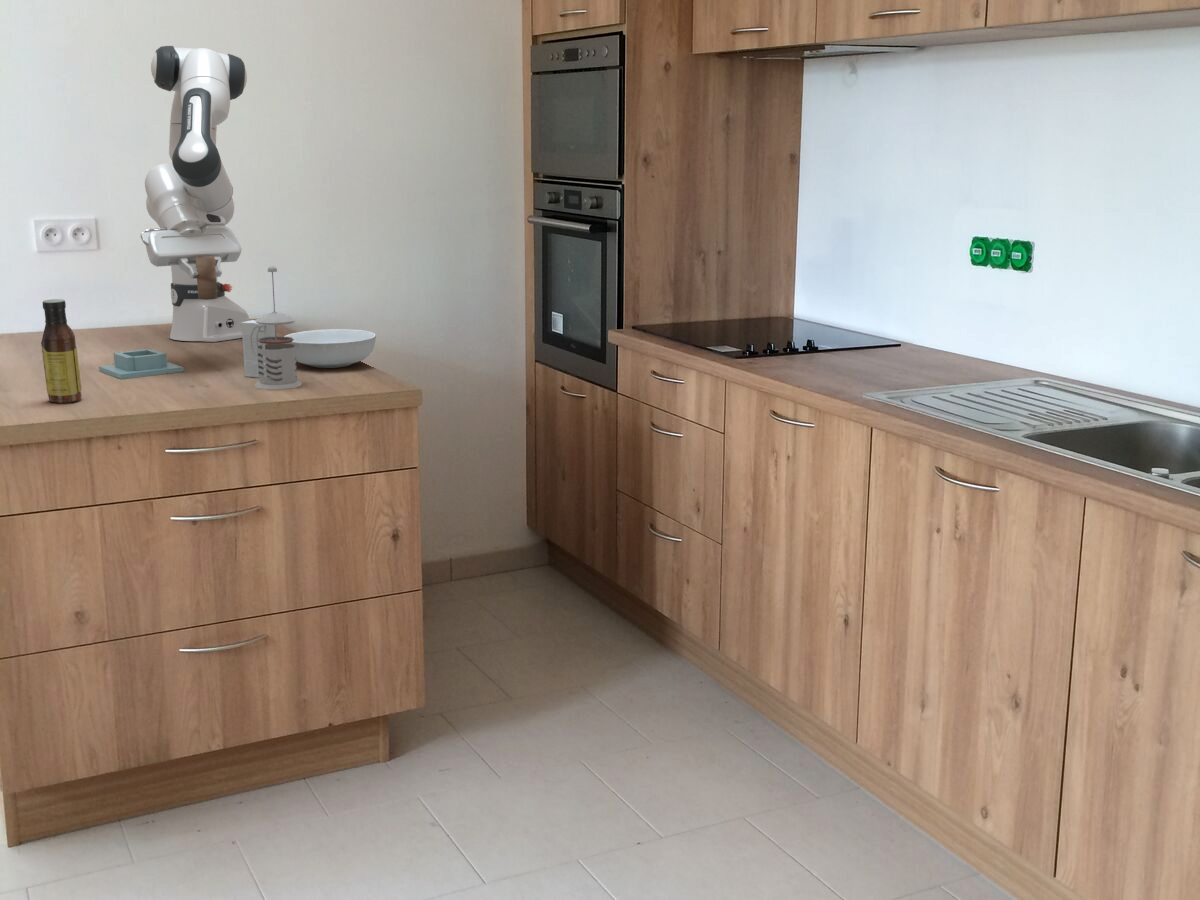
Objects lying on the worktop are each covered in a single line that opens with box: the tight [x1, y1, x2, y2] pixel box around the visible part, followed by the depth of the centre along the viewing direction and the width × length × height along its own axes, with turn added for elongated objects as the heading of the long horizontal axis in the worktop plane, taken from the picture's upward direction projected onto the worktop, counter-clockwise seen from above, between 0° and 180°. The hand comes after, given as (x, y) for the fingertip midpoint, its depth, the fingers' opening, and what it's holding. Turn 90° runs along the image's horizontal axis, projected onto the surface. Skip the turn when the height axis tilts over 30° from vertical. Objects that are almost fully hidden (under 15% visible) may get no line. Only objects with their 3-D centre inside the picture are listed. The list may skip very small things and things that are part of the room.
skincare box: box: [241, 319, 275, 378], centre depth 267 cm, size 6×4×12 cm
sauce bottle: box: [40, 298, 82, 404], centre depth 238 cm, size 6×6×20 cm
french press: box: [250, 265, 303, 390], centre depth 257 cm, size 10×12×25 cm
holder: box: [98, 348, 184, 380], centre depth 271 cm, size 14×12×4 cm
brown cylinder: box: [195, 256, 217, 300], centre depth 267 cm, size 4×4×9 cm
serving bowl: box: [283, 328, 377, 369], centre depth 282 cm, size 21×21×7 cm
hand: (206, 276), depth 267 cm, fingers closed on brown cylinder, 4 cm apart
